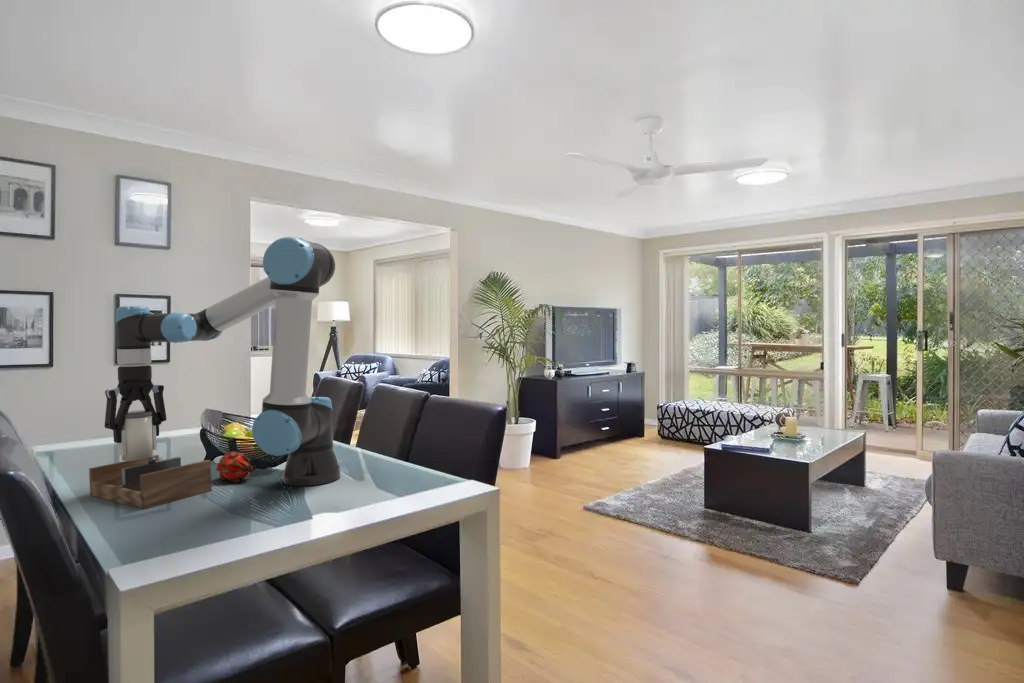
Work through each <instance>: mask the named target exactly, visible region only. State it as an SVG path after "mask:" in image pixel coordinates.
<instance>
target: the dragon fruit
mask: <svg viewBox="0 0 1024 683" xmlns="http://www.w3.org/2000/svg"><path fill="white" fill-rule="evenodd" d="M215 470H216V471H218V472H219V478H220V479H221V481H224V480H227V479H228V481H230V482H232V483H239V482H241V480H240V479H245V478H248V477H249V476H250V475H251V473H252V472H254V471H255V470H256V465H254V463H253V462H251V459H249V458H248V457H247V456H246V455H245V454H244V453H243V452H242V453H241V452H238V451H229V452H227V453H225V454H224V455H223V456H221V458H220V459H219V461H218V463H217V464H216V469H215Z"/></svg>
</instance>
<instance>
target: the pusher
mask: <svg viewBox="0 0 1024 683" xmlns="http://www.w3.org/2000/svg"><path fill="white" fill-rule="evenodd" d="M181 458H182V457H180V456H176V457H175V456H174V457H169V458H166V459H159V461H156V458H155V457H153V458H148V461H149V463H146V464H141V465H136V466H131V467H127V468H122V488H127V489H131V490H135V491H139V492H141V488H140V475H143V474H147V473H152V472H156V471H161V470H165V469H169V468H174V467H178V466H182V459H181Z"/></svg>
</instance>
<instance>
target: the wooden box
mask: <svg viewBox="0 0 1024 683" xmlns="http://www.w3.org/2000/svg"><path fill="white" fill-rule="evenodd" d="M153 457H155V458H156V461H160V455H159V454H153ZM153 457H151V458H153ZM146 463H149V461H148V459H143V460H136V461H123V460H122V461H119V462H114V463H109V464H108V463H107V464H103V465H98V466H95V467H94V466H93V467H90V468H88V473H89V495H90V496H92V497H96V498H100V499H103V500H107V501H110V500H111V502H114V501H115V502H116V503H118V504H119V503H120V504H123V505H127V506H131V507H134V506H135V507H134V508H137V507H138V509H141V508H142V510H147V509H150V508H154V507H157V506H158V507H159V506H161V505H164V504H168V503H171V502H176V501H179V500H183V499H186V498H190V497H195V496H197V495H202V494H204V493H208V492H212V469H211V468H212V467H211V460H210V459H205V460H201V461H198V462H192V463H188V464H184V465H181V466H178V467H174V468H169V469H165V470H161V471H156V472H152V473H147V474H143V475H140V488H141V492H139V491H135V490H131V489H127V488H122V468H127V467H131V466H136V465H141V464H146Z"/></svg>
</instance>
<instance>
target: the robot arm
mask: <svg viewBox="0 0 1024 683" xmlns="http://www.w3.org/2000/svg"><path fill="white" fill-rule="evenodd" d="M262 268H263V271H264V273H265V274H266V275H267V277H265V278H263V279H261V280H259V281H257V282H255V283H253V284H251V285H249V286H247V287H246V288H243V289H241V290H239V291H238V292H236V293H234V294H232V295H229V296H227V297H226V298H224V299H222V300H220V301H218V302H216V303H214V304H212V305H210V306H208V307H207V308H205V309H203V310H200V311H199V312H196V313H184V312H169V313H165V312H163V313H152V312H150V308H149V307H148V306H144V305H143V306H142V305H141V306H140V305H138V306H137V305H133V306H131V305H126V306H119V307H117V308H116V312H115V322H114V323H115V330H116V331H115V332H116V348H117V349H116V356H117V357H116V358H117V364H118V365H120V366H118V367H117V381H118V384H117V387H116V388H115V387H114V388H113V389H106V390H104V391H105V392H104V394H105V396H106V407H105V415H104V416H105V418H104V428H105V429H108V430H112V432H113V433H112V434H113V442H114V443H115V444H117V448H116V449H117V455H119V456H121V457H122V456H125V455H126V430H122V428H123V425H124V422H125V415H126V414H127V413H128V412H129V411H130V407H131V406H132V404H133V402H135V401H139V402H140V403H141V405H142V407H143V410H145V411H152V436H153V451H155V450H158V446H157V437H159V436H160V425H162V422H166V421H167V413H166V408H165V400H164V399H165V398H164V391H165V390H164V389H165V386H164V385H160V384H154V383H153V381H152V378H153V377H152V376H153V372H152V368H153V367H152V366H151V363H152V348H151V347H152V346H151V345H152V343H174V344H177V343H186V342H197V341H202V342H205V341H206V342H207V341H211V340H215V339H217V338H218V337H220V335H222V333H223V331H225V330H227V329H229V328H231V327H233V326H236V325H237V324H240V323H241V322H243V321H245V320H247V319H249V318H252V317H253V316H255V315H257V314H259V313H262V312H263V311H266V310H268V309H269V308H271V307H274V306H275V309H274V322H273V338H272V339H273V340H272V352H271V354H272V355H271V368H270V369H271V370H270V380H269V381H270V383H269V384H270V385H269V392H268V394H267V395H266V396H265V397H263V398H262V405H261V406H262V407H261V412H260V413H259V414H258V416H257V417H255V419H254V421H253V423H252V428H251V433H252V434H251V435H252V438H253V440H254V442H255V445H256V446H258V448H260V450H261V451H262V452H264V453H266V454H268V455H271V456H276V457H278V456H279V457H280V456H284V455H288V456H287V459H286V464H285V468H284V470H283V473H282V482H283V484H285V485H288V486H293V487H308V486H310V487H311V486H318V485H319V486H320V485H323V484H324V485H325V484H328V483H331V482H335V481H337V480H338V479H340V477H341V468H340V465H339V463H338V459H337V456H336V454H335V451H334V439H333V438H334V437H333V436H334V435H333V434H334V431H333V430H334V429H333V428H334V427H333V411H334V409H333V404H332V399H331V398H330V397H327V396H308V395H307V393H306V392H307V379H308V366H309V365H308V362H309V354H310V353H309V352H310V337H311V336H310V335H311V325H312V323H311V320H312V309H313V308H312V307H313V301H314V299H316V298H317V297H318V296H319V294H320V288H321V287H323V286H325V285H326V284H327V283H329V281H331V279H332V278H333V276H334V274H335V270H336V261H335V258H334V256H333V254H332V253H331V251H330V250H329V249H328V248H327V247H325V246H324V245H322V244H320V243H317V242H312V241H310V240H306V239H303V238H301V237H291V236H285V237H280V238H277V239H276V240H274V241H273V242H272V243H271V244H270V245H269V246H268V247H267V248H266V249H265V251H264V254H263V257H262ZM151 391H152V393H153V396H152V397H153V402H154V405H153V403H152V398H151V396H150V393H151ZM119 395H121V398H120V402H119V403H120V404H119V406H118V409H117V403H118V398H117V397H119Z"/></svg>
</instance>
